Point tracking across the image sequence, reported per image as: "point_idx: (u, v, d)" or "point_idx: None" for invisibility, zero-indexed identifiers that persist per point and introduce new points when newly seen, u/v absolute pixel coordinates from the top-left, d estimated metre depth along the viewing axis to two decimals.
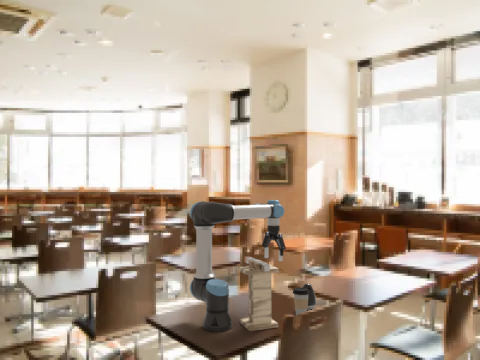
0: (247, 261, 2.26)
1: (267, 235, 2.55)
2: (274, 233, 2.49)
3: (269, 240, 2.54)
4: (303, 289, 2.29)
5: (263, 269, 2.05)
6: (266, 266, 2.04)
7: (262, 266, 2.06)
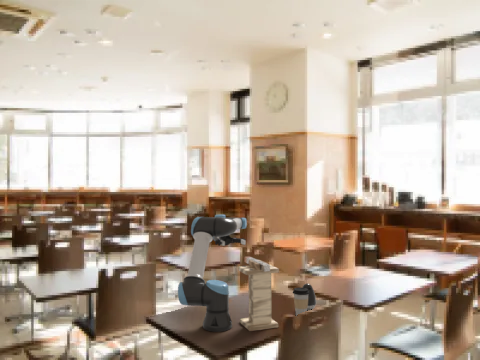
0: (247, 261, 2.26)
1: (219, 240, 2.62)
2: None
3: (223, 240, 2.60)
4: (303, 289, 2.29)
5: (263, 269, 2.05)
6: (266, 266, 2.04)
7: (262, 266, 2.06)
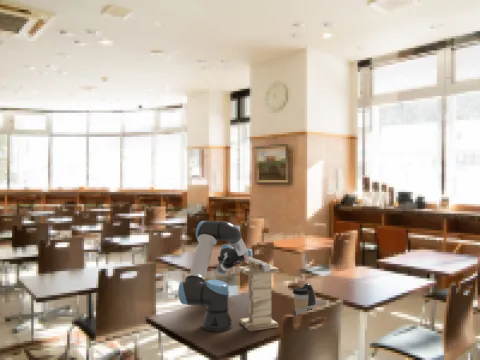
0: (247, 261, 2.26)
1: None
2: None
3: (226, 258, 2.55)
4: (303, 289, 2.29)
5: (263, 269, 2.05)
6: (266, 266, 2.04)
7: (262, 266, 2.06)
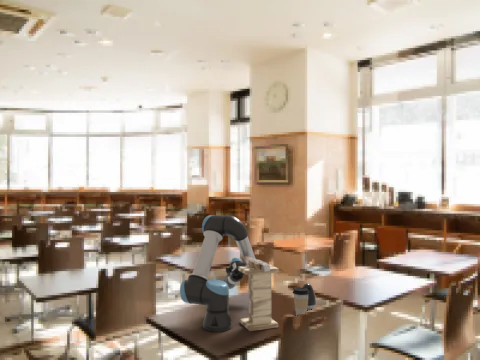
0: (247, 261, 2.26)
1: None
2: None
3: (234, 270, 2.41)
4: (303, 289, 2.29)
5: (263, 269, 2.05)
6: (266, 266, 2.04)
7: (262, 266, 2.06)
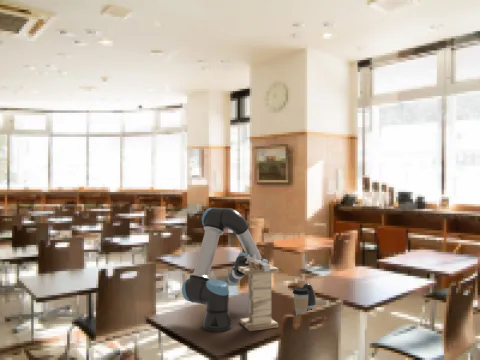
0: None
1: None
2: None
3: None
4: (303, 289, 2.29)
5: (263, 269, 2.05)
6: (266, 266, 2.04)
7: (262, 266, 2.06)
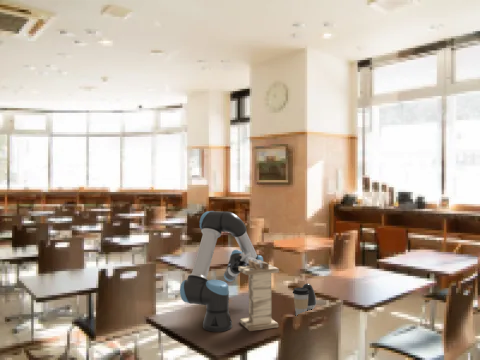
0: None
1: None
2: None
3: None
4: (303, 289, 2.29)
5: None
6: (260, 263, 2.12)
7: None
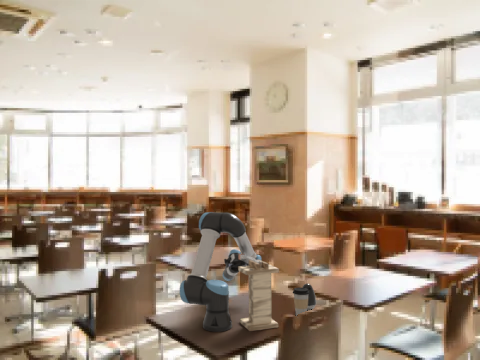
0: (241, 258, 2.35)
1: (229, 263, 2.44)
2: None
3: (233, 261, 2.42)
4: (303, 289, 2.29)
5: None
6: (258, 263, 2.14)
7: None
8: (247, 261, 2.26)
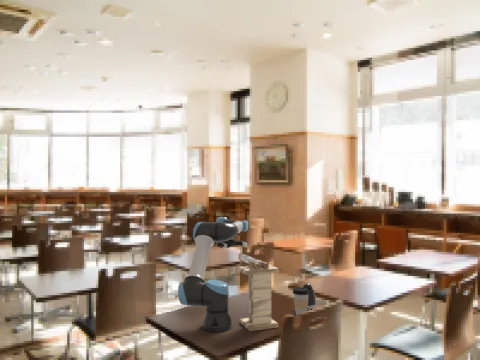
0: (241, 258, 2.35)
1: (221, 242, 2.65)
2: None
3: (225, 243, 2.63)
4: (303, 289, 2.29)
5: None
6: (258, 263, 2.14)
7: None
8: (247, 261, 2.26)
